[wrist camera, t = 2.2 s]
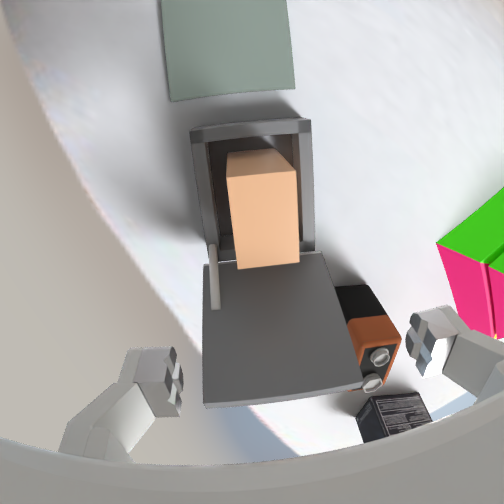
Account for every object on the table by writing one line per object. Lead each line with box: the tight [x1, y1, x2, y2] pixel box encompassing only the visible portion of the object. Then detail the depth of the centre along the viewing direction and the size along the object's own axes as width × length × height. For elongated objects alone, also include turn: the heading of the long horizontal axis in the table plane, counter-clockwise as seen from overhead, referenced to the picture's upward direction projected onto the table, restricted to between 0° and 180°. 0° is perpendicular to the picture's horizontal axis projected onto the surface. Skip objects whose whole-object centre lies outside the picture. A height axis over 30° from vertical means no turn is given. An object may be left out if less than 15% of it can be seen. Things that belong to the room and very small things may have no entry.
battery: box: [334, 285, 402, 393], centre depth 30 cm, size 4×7×10 cm, turn 0°
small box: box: [355, 393, 433, 443], centre depth 40 cm, size 11×6×10 cm, turn 78°
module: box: [226, 148, 299, 269], centre depth 23 cm, size 6×4×9 cm, turn 5°
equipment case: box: [189, 118, 364, 409], centre depth 21 cm, size 15×10×15 cm, turn 5°
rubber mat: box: [161, 0, 295, 102], centre depth 21 cm, size 10×10×1 cm
